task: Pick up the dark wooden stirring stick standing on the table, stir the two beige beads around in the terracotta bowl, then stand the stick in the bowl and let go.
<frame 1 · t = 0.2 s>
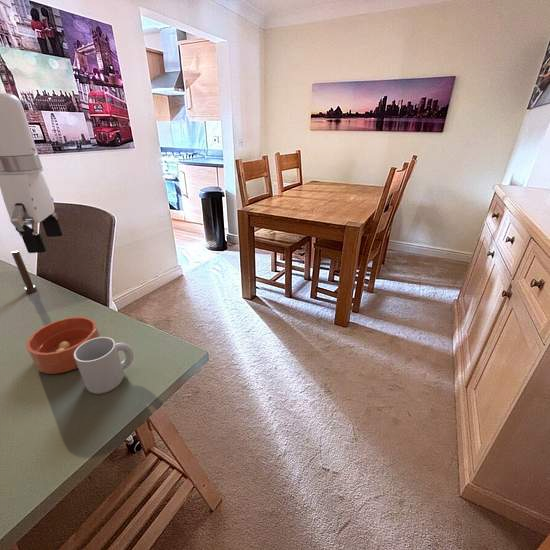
hand: (46, 243, 68), 24 cm above the table, tool pointing down, fingers open, 9 cm apart
cup: (113, 378, 65), on the table
bead b: (60, 353, 68), point 2 cm above the table, touching bowl
stick: (31, 291, 95), on the table
bead a: (64, 346, 70), point 2 cm above the table, touching bowl
bowl: (70, 354, 71), on the table
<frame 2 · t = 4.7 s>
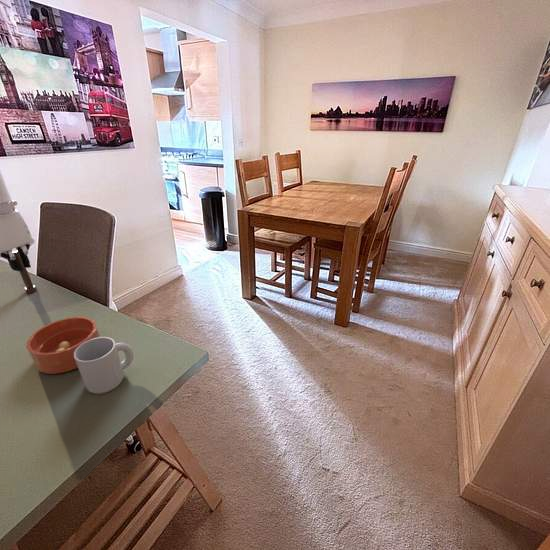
hand: (22, 268, 91), 8 cm above the table, tool pointing down, fingers closed on stick
stick: (31, 291, 95), on the table, touching gripper
everything else where it was.
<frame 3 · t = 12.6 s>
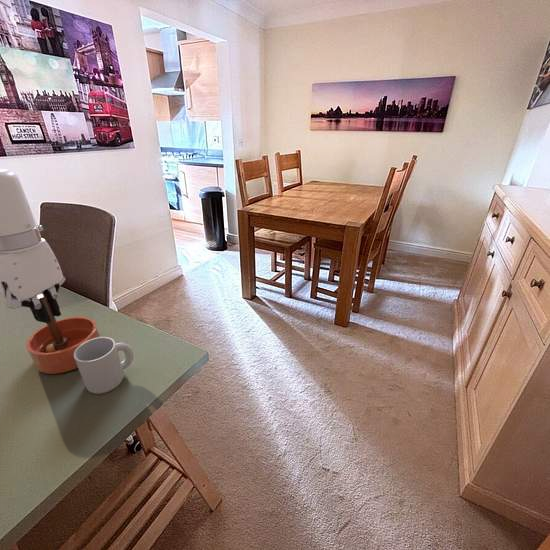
hand: (49, 317, 65), 11 cm above the table, tool pointing down, fingers closed on stick
bead b: (59, 355, 68), point 2 cm above the table, tilted 33°, touching bowl, stick
stick: (61, 346, 69), point 3 cm above the table, touching bead b, gripper
bead a: (51, 348, 70), point 2 cm above the table, tilted 133°, touching bowl
everything else where it was.
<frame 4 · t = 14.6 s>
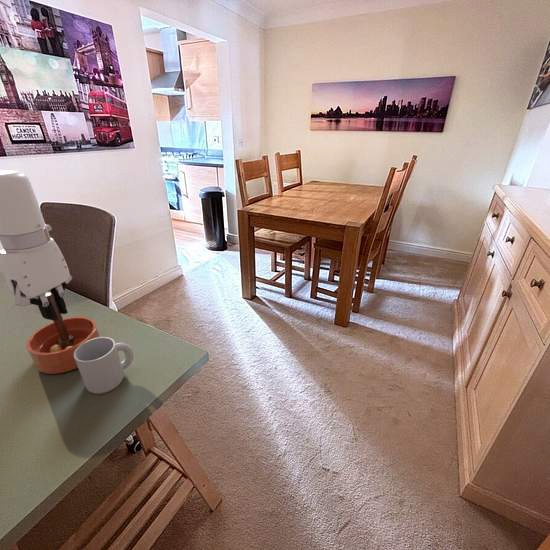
hand: (56, 315, 67), 10 cm above the table, tool pointing down, fingers closed on stick
bead b: (70, 350, 69), point 2 cm above the table, tilted 17°, touching bowl
stick: (67, 343, 71), point 2 cm above the table, touching bead a, gripper
bead a: (56, 349, 69), point 2 cm above the table, tilted 67°, touching bowl, stick
everything else where it was.
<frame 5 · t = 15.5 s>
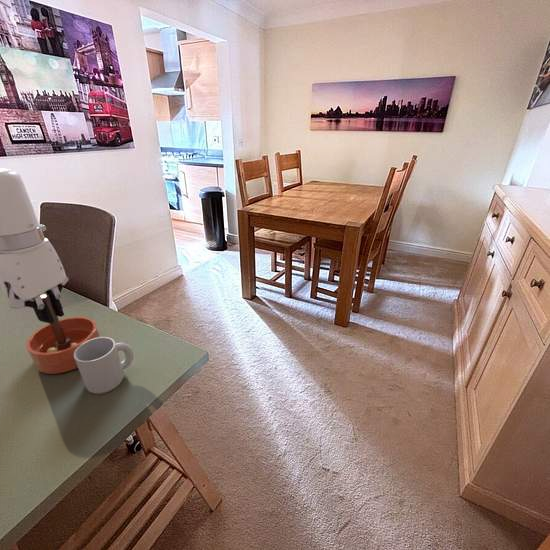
hand: (52, 317, 65), 11 cm above the table, tool pointing down, fingers closed on stick
bead b: (74, 347, 70), point 2 cm above the table, tilted 78°, touching bowl, stick
stick: (64, 346, 69), point 3 cm above the table, touching bead b, gripper
bead a: (51, 352, 69), point 2 cm above the table, tilted 90°, touching bowl
everything else where it was.
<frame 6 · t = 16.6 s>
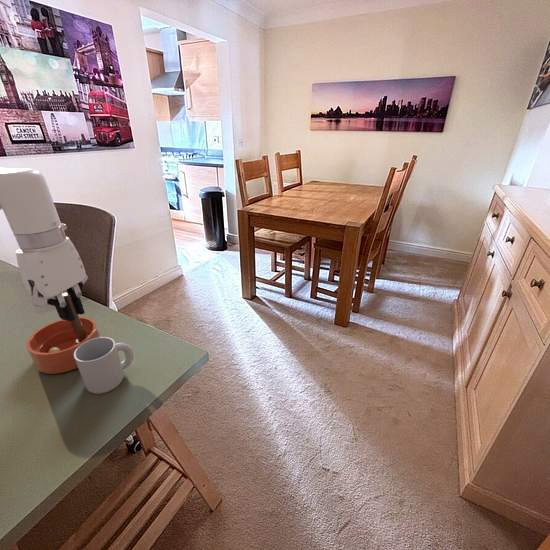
hand: (73, 315, 66), 11 cm above the table, tool pointing down, fingers closed on stick, 2 cm apart
bead b: (84, 346, 71), point 2 cm above the table, tilted 111°, touching bowl, stick
stick: (84, 344, 70), point 3 cm above the table, touching bead b, bowl, gripper
bead a: (54, 352, 69), point 2 cm above the table, tilted 64°, touching bowl
everything else where it was.
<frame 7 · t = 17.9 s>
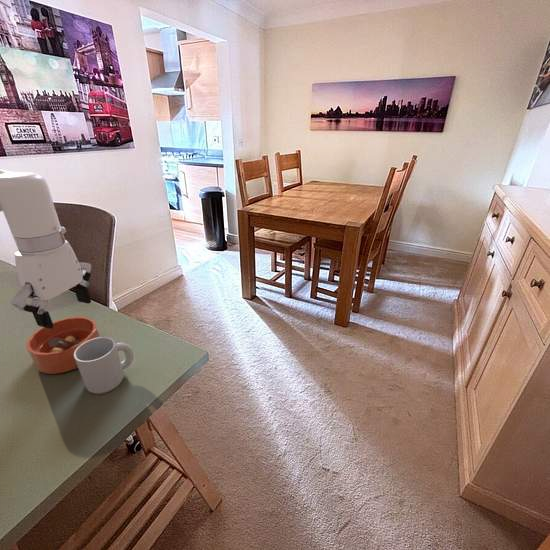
hand: (67, 313, 66), 11 cm above the table, tool pointing down, fingers open, 9 cm apart
bead b: (69, 340, 72), point 2 cm above the table, tilted 22°, touching bowl
stick: (76, 347, 70), point 2 cm above the table, tilted 46°, touching bowl
bead a: (57, 351, 69), point 2 cm above the table, tilted 35°, touching bowl
everything else where it was.
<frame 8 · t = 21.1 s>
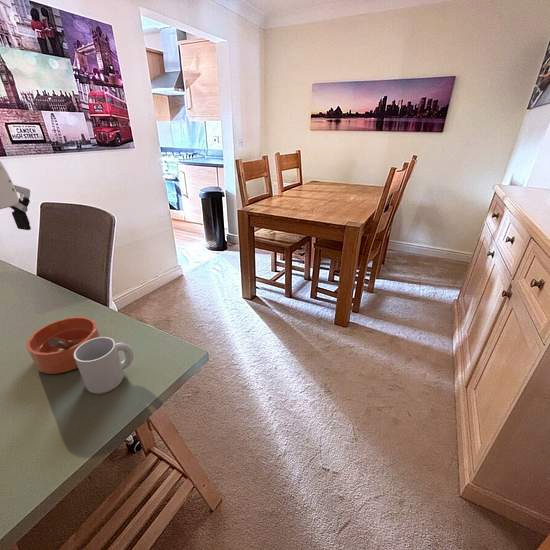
hand: (2, 236, 65), 26 cm above the table, tool pointing down, fingers open, 9 cm apart
bead b: (68, 345, 71), point 2 cm above the table, tilted 74°, touching bowl, stick
stick: (76, 347, 70), point 2 cm above the table, tilted 46°, touching bead a, bead b, bowl
bead a: (63, 352, 69), point 2 cm above the table, tilted 42°, touching bowl, stick
everything else where it was.
at the end: stick inside the target area in the bowl (1.5 cm from its centre), point 1.6 cm above the bowl's base; stick moved 40.6 cm from its start; the gripper is holding nothing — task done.
